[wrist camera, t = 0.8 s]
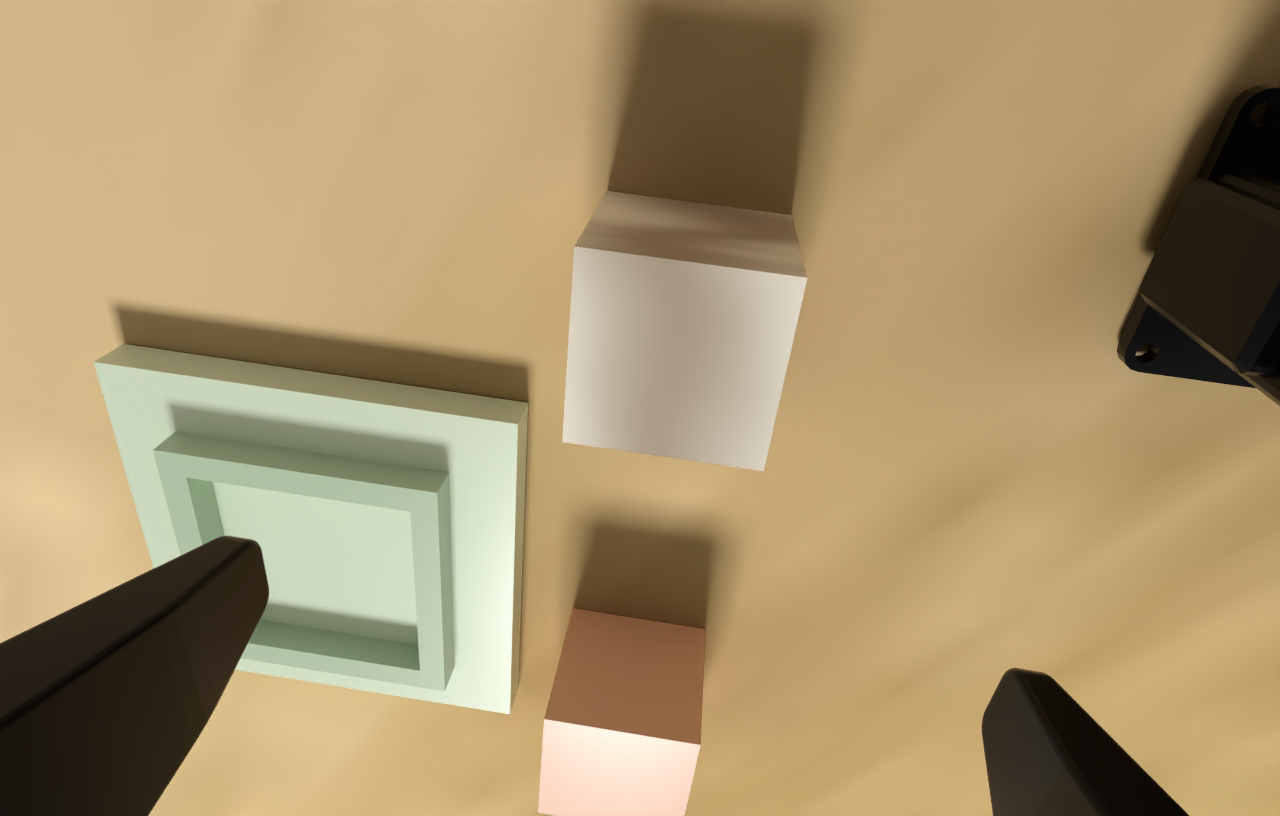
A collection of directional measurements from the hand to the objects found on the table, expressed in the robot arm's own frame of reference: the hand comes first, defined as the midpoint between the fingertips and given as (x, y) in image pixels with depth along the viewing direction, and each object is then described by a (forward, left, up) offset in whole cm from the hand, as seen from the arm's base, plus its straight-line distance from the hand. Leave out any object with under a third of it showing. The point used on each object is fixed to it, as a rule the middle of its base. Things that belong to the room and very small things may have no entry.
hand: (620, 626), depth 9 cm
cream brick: (0, 0, -12) cm, 12 cm away
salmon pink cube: (0, +14, -12) cm, 19 cm away
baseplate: (+10, +10, -12) cm, 18 cm away
